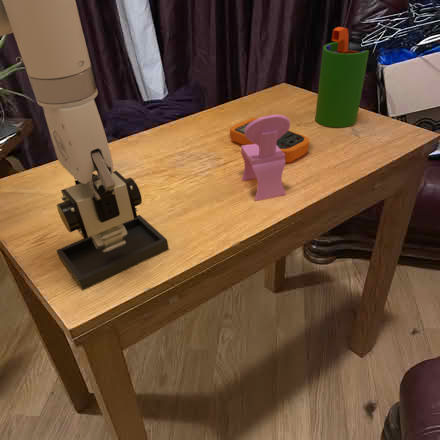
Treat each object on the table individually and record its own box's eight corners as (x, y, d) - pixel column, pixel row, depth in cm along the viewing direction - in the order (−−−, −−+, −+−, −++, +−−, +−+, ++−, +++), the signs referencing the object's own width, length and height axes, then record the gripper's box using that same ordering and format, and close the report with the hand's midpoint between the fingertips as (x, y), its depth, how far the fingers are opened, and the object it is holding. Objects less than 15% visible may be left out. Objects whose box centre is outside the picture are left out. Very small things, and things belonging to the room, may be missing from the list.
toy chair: (274, 172, 88) (277, 97, 77) (291, 193, 82) (296, 115, 71) (236, 179, 87) (233, 104, 76) (250, 202, 81) (249, 123, 70)
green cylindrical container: (362, 118, 104) (379, 23, 90) (344, 131, 100) (359, 34, 86) (326, 109, 109) (337, 18, 95) (307, 121, 105) (315, 28, 91)
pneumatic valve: (150, 238, 71) (136, 172, 62) (84, 267, 66) (59, 200, 58) (135, 223, 74) (120, 158, 66) (71, 249, 70) (46, 184, 61)
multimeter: (286, 167, 89) (287, 151, 87) (227, 141, 99) (227, 126, 97) (312, 152, 93) (314, 137, 91) (254, 129, 103) (254, 115, 101)
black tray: (82, 290, 66) (78, 280, 64) (59, 259, 71) (55, 250, 70) (168, 249, 72) (167, 239, 70) (141, 223, 78) (139, 214, 76)
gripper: (13, 75, 56) (57, 195, 69) (61, 114, 46) (102, 245, 59) (66, 62, 59) (99, 179, 72) (123, 95, 49) (149, 225, 62)
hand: (100, 208), depth 65 cm, fingers closed on pneumatic valve, 5 cm apart
